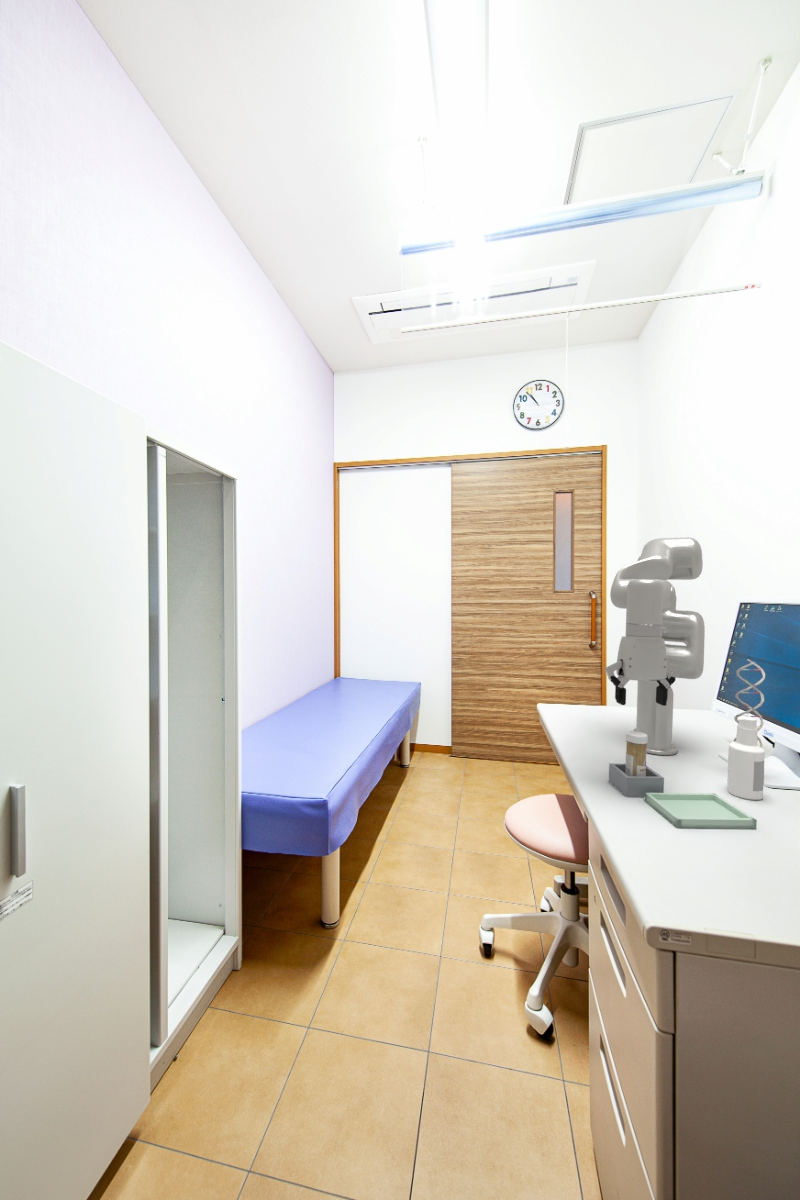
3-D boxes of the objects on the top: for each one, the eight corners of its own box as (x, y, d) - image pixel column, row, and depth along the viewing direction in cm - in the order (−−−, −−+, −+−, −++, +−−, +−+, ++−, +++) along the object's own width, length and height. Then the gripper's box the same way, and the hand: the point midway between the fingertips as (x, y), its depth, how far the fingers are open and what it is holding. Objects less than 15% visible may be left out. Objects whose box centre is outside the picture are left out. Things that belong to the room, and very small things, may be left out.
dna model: (766, 782, 116) (771, 663, 115) (736, 778, 118) (740, 661, 118) (756, 773, 122) (761, 659, 122) (727, 769, 125) (732, 657, 124)
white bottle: (769, 802, 105) (772, 723, 105) (735, 798, 106) (738, 720, 106) (753, 789, 112) (756, 715, 111) (721, 786, 113) (724, 713, 113)
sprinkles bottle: (646, 794, 108) (648, 737, 107) (625, 791, 109) (627, 734, 109) (644, 787, 112) (646, 731, 112) (623, 783, 114) (625, 729, 113)
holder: (608, 781, 115) (609, 763, 115) (643, 781, 115) (643, 763, 115) (626, 797, 106) (626, 777, 106) (663, 797, 106) (664, 778, 106)
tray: (644, 800, 105) (644, 792, 105) (714, 801, 105) (714, 793, 105) (677, 828, 93) (677, 819, 93) (756, 828, 93) (756, 820, 93)
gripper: (669, 631, 113) (667, 700, 114) (599, 629, 113) (597, 699, 113) (689, 634, 106) (687, 708, 106) (615, 632, 105) (612, 707, 106)
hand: (640, 704), depth 110 cm, fingers open, 9 cm apart
